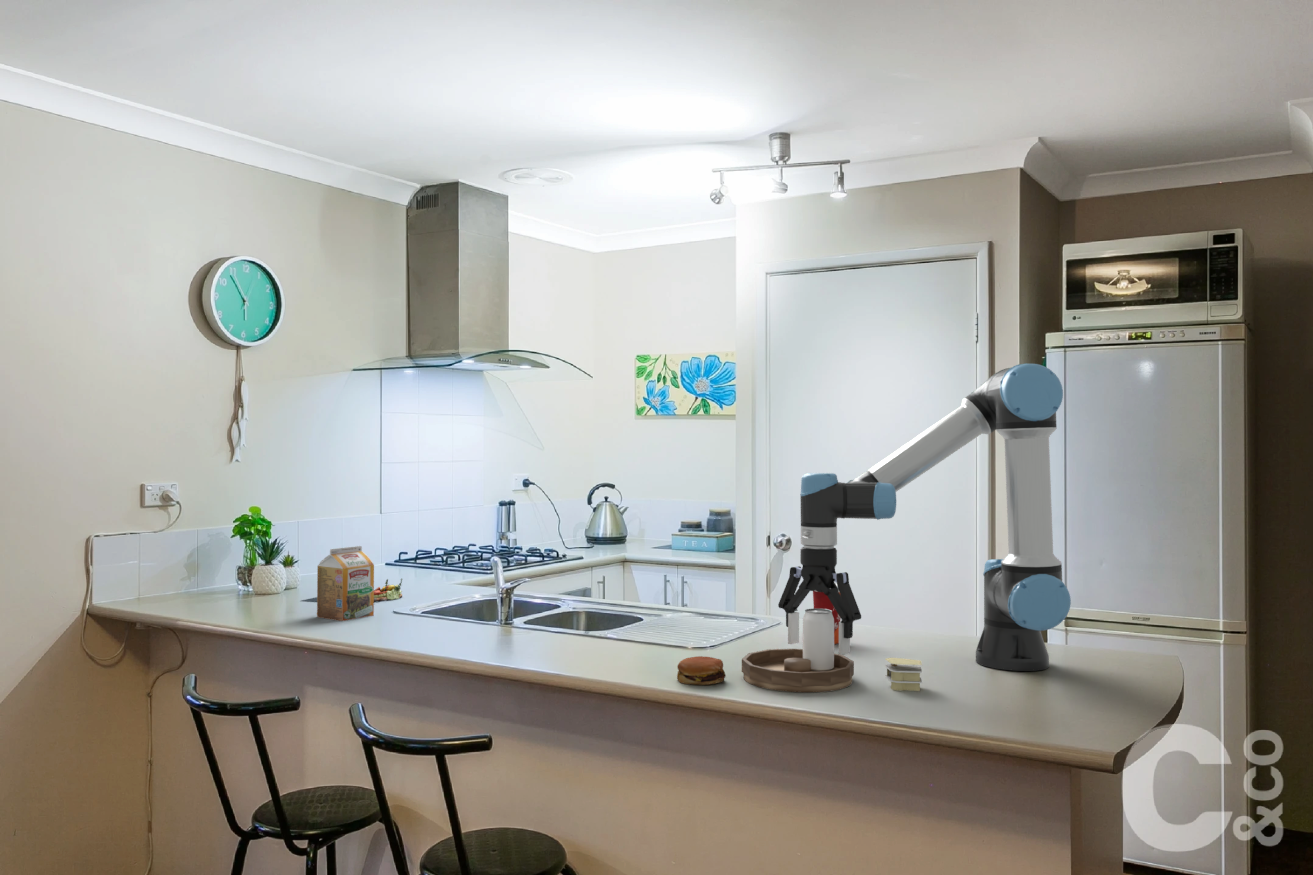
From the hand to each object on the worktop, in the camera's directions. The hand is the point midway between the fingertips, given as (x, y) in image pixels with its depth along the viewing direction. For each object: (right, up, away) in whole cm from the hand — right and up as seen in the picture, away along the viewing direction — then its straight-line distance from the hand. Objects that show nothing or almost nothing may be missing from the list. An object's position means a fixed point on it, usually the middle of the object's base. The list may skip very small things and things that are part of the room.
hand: (818, 648), depth 201 cm
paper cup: (+8, -6, +33) cm, 34 cm away
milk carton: (-120, -6, +65) cm, 136 cm away
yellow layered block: (+15, -6, -11) cm, 19 cm away
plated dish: (-124, -7, +96) cm, 157 cm away
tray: (-5, -5, -4) cm, 8 cm away
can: (0, -4, 0) cm, 4 cm away
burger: (-25, -6, -6) cm, 26 cm away
